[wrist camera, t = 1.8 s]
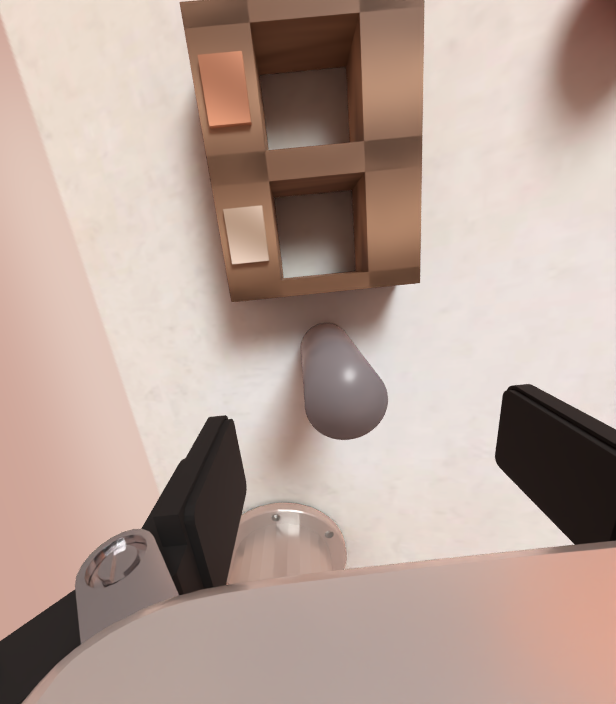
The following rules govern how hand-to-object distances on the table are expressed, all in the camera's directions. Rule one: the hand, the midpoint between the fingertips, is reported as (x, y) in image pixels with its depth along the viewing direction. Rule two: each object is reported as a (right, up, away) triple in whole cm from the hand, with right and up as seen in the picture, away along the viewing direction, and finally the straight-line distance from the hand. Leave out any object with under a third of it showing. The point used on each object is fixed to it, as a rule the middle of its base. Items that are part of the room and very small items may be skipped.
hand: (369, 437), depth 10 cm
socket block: (-2, +15, +10) cm, 18 cm away
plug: (-1, +3, +13) cm, 14 cm away
